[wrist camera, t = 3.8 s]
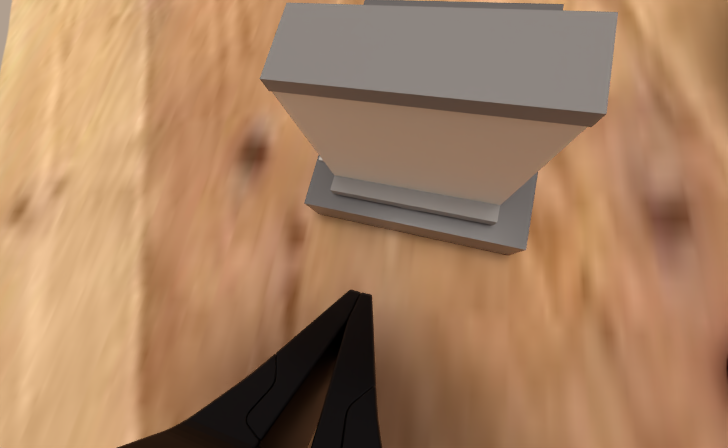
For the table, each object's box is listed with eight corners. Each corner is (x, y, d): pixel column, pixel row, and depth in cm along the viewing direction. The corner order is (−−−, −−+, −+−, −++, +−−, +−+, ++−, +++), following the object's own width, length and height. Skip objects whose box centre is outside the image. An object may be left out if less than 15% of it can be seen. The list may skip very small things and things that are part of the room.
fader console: (508, 254, 18) (527, 249, 15) (319, 213, 21) (303, 202, 18) (542, 42, 21) (565, 1, 18) (370, 33, 24) (364, -4, 21)
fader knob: (494, 225, 16) (602, 148, 7) (333, 193, 18) (250, 103, 9) (507, 147, 17) (621, -17, 7) (352, 126, 19) (294, -19, 10)
